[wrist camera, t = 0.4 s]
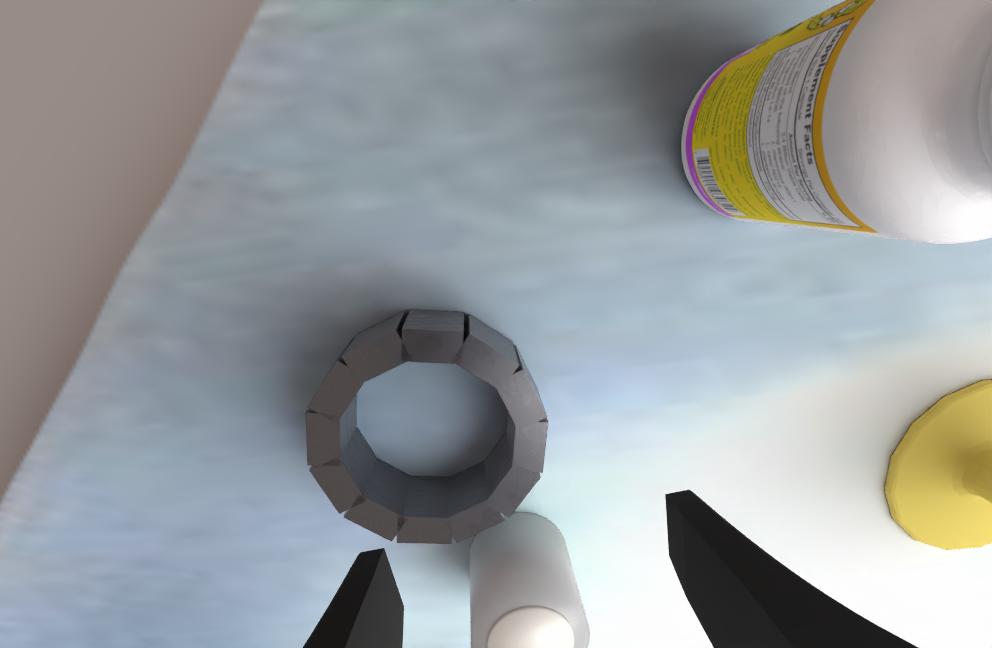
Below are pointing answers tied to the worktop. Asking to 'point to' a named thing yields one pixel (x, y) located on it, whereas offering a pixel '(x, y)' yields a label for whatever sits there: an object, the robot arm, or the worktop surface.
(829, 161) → the supplement bottle
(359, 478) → the segmented grey ring
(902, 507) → the candle
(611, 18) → the worktop surface
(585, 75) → the worktop surface
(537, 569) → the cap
